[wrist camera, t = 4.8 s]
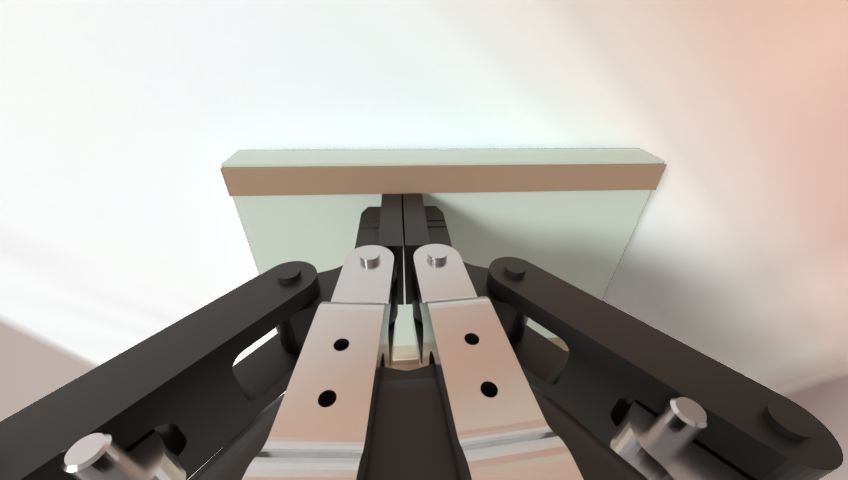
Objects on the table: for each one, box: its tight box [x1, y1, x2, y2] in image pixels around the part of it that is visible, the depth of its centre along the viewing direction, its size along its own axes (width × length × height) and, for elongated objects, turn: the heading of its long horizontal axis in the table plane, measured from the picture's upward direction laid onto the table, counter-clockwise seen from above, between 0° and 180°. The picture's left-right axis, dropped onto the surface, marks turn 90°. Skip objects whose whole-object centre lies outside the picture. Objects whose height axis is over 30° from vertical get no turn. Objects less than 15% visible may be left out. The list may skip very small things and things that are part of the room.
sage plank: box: [221, 148, 666, 346], centre depth 15 cm, size 16×10×2 cm, turn 89°
